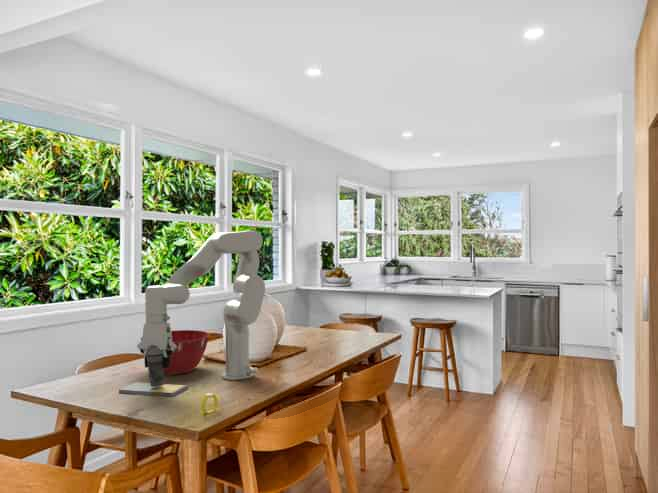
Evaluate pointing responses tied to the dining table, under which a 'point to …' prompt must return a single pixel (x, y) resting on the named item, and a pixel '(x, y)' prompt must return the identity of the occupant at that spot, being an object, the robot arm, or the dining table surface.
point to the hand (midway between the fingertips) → (157, 366)
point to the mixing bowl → (186, 351)
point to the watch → (205, 402)
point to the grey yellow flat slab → (153, 389)
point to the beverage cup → (155, 366)
